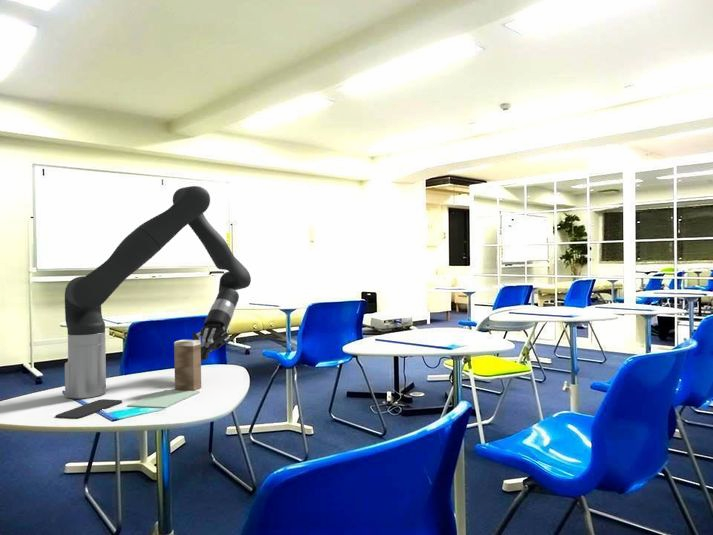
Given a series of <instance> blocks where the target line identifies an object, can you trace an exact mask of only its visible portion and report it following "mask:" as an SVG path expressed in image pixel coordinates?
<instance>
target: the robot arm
mask: <svg viewBox="0 0 713 535" xmlns="http://www.w3.org/2000/svg"><path fill="white" fill-rule="evenodd" d="M210 203H211V196H210V192H208V190H207V189H206V188H204V187H201V186H198V185H197V186H196V185H191V186H185V187H181V188H178V189H177V190H176V191H175V192H174V194H173V195H172V205H171V206H170V207H169V208H168V209H166V210H164V211H163V212H161V213H160V214H157V215H156V216H154V217H152V218H150V219H149V220H147V221H145V222H143V223H141V224H140V225H139V226H137V227H136V228H134V230H133V231H131V232H130V233H129V234H128V235H127V236H126V237H125V238H124V239H123V240H122V241H121V242H119V244H118V246H117V247H116V248H115V249H114V251H113V252H112V254H111V255H110V256H109V257H108V258H107V259H106V260H105V261H104V262H103V263H102V264H100V265H99V266H97V267H96V268H95V269H94V270H92V271H90V272H89V273H88V274H85V275H82V276H76V277H74V278H73V279H72V280H70V281H69V282H68V283H67V284H66V286H65V288H64V289H65V290H64V313H65V314H64V316H65V317H64V319H65V324H66V328H67V361H66V362H65V363H64V398H65V399H88V398H95V397H99V396H102V395H105V394H106V393H107V374H106V373H107V372H106V371H107V367H106V364H107V362H106V359H107V358H106V357H107V356H106V355H107V354H106V322H105V321H104V319H103V315H102V305H103V304H104V303H105V302H106V301H107V300H108V299H109V298H110V296H112V294H113V293H114V292H115V291H116V290H117V288H119V287H120V285H121V284H122V283H123V282H124V281H125V280H126V279H127V278H128V277H130V276H131V275H133V274H134V273H135V272H136V271H138V269H139V268H141V267H143V265H145V264H146V263H147V262H148V261H150V260H151V259H152V258H153V257H154V256H156V254H157V253H159V252H160V251H161V250H162V249H163V248H164V246H166V245H167V244H168V243H169V242H170V241H171V240H172V239H173V238H174V237H176V236H177V234H178V233H179V232H180V231H182V229H183V228H184V227H186V226H187V225H188V226H189V227H190V228H191V230H192V232H193V233H194V234H195V235H196V237H197V238H198V239H199V241H200V242H201V244H202V245H203V247H204V248H205V250H206V252H207V254H208V255H209V258H210V259H211V260H212V262H213V264H214V265H215V267H216V268H217V269H218V270H222V271H223V270H225V271H227V272H223V274H222V275H221V276H220V278H219V285H218V293H217V295H216V297H215V300H214V301H213V304H212V305H211V307H210V309H209V311H208V314H207V315H206V317H205V320H204V324H203V327H202V328H201V329H200V331H199V332H197V333H196V332H193V333H191V336H192V338H193V339H192V340H201V362H205V361H206V360H207V359H208V358H209V355H210V353H211V352H212V351H217V350H218V349H220V348H221V347H223V346H224V345H225V344H226V343H228V342H229V341H230V340H231V337H230V335H229V334H228V333H227V330H228V328H229V326H230V323H231V321H232V318H233V316H234V313H235V309H236V306H237V304H238V302H239V298H240V295H239V293H238V291H237V290H243V289H247V288H248V287H249V286H250V285H251V282H252V278H251V274H250V272H249V271H248V269H247V268H246V266H244V265H243V264H242V263H241V262H240V261H239V260H238V259H237V258H236V257H235V255H234V253H233V252H232V250H231V249H230V246H229V245H228V242H226V240H225V239H224V237H222V235H220V233H219V232H218V231H217V230H216V229H215V228H214V227H213V226H212V225H211V223H210V222H209V221H208V219H207V218H206V216H205V215H204V213H205V212H206V211H207V209H208V208H209V206H210V205H211V204H210Z"/></svg>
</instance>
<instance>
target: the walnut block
mask: <svg viewBox="0 0 713 535" xmlns="http://www.w3.org/2000/svg"><path fill="white" fill-rule="evenodd" d="M201 343H202V339H201V340H194V339H179V340H176V341H174V342H173V344H174V345H173V348H174V350H173V352H174V353H173V354H174V355H173V356H174V359H173V360H174V390H179V391H198V390H200V389H202V361H201Z"/></svg>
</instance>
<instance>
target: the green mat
mask: <svg viewBox="0 0 713 535" xmlns="http://www.w3.org/2000/svg"><path fill="white" fill-rule="evenodd" d="M200 392H201V391H200V390H199V391H198V390H196V391H179V390H175V389H173V390H170V389H169V390H168V389H164V390H161V391H160V392H157V393H154V394H152V395H149V396H147V397H144V398H141V399H139V400H136V401H134V402H131V403H129V404H127V405H126V407H133V408H134V407H136V408H137V407H139V408H159V409H160V408H161V409H166V408H169V407H171V406H173V405H175V404H177V403H181V402H182V401H184V400H187V399H188V398H191V397H193V396H195V395H198V394H199V393H200Z"/></svg>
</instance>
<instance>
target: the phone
mask: <svg viewBox="0 0 713 535" xmlns="http://www.w3.org/2000/svg"><path fill="white" fill-rule="evenodd" d="M122 403H123V400H122V399H110V398H109V399H105V398H104V399H97V400H94V401H91V402H89V403H86V404H83V405H81V406H76V407H75V408H72V409H68V410H66V411H63V412H60V413H57V414H56V415H55V416H54V417H55V418H57V419H70V420H73V419H74V420H79V419H83V418H85V417H88V416H92V415H94V414H97V413H99V412H101V411H100V410H102V409H105V410H106V409H109V408H112V407H114V406H117V405H120V404H122ZM102 411H103V410H102Z"/></svg>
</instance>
